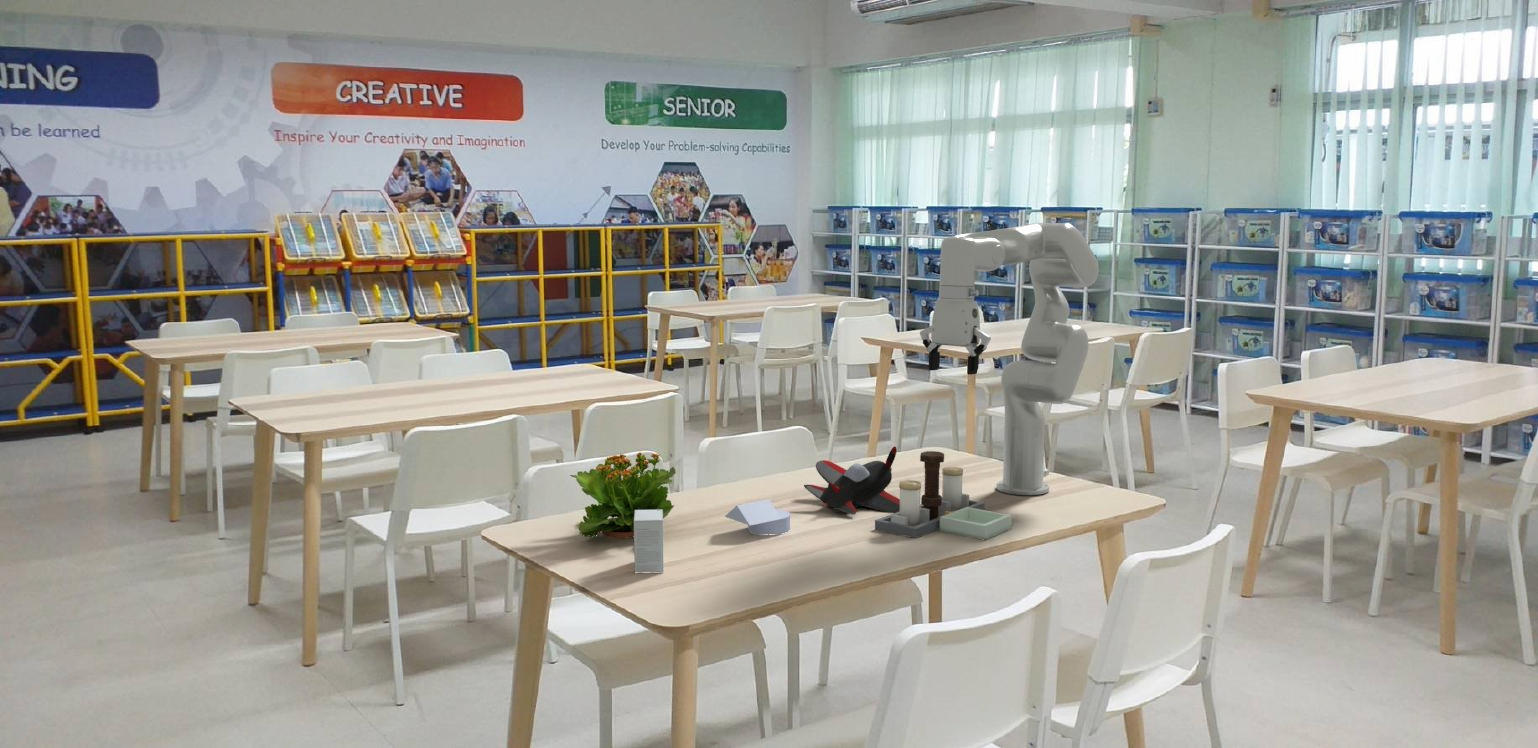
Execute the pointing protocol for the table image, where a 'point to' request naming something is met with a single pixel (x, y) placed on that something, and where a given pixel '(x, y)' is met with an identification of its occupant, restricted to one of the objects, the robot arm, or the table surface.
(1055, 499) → the table surface
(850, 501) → the toy airplane
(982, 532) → the tray
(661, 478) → the potted flower
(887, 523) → the block
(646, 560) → the small box
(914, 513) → the fuse outer
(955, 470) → the ball
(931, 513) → the bolt
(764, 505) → the wedge on round base
